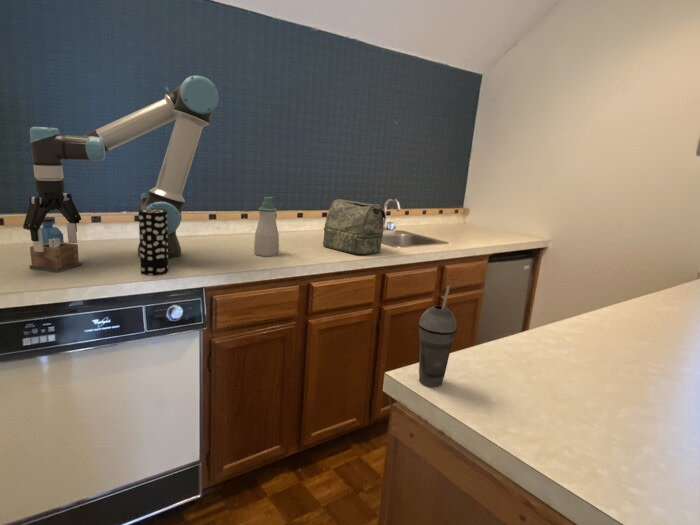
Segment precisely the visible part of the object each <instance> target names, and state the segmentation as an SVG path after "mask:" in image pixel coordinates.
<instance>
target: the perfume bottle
mask: <svg viewBox="0 0 700 525" xmlns="http://www.w3.org/2000/svg"><path fill="white" fill-rule="evenodd" d="M53 225H54V221H53V217H45V219H44V221H43V222H42V224H41V226H40V228H39V230H41V231H42V239H43V244H44V243H49V239H52V238H58V239H60V242H62V243H65V241H64V234H63V232H62V231H61V230H60V229H59V228H58V227H56V226H53Z"/></svg>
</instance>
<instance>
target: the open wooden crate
mask: <svg viewBox="0 0 700 525" xmlns="http://www.w3.org/2000/svg"><path fill="white" fill-rule="evenodd" d="M43 248H44V252H37V251H34V246H33V245H32V246H31V245H30V246H29V250H30V261H31V265H33V266H41V267H49V268H57V269H58V268H61V267H64V266H68V265H71V264H74V263H78V262H80V259H79V245H78V243H68V242H64V243H62V242H60V247H57V248H51V247H49V243H44V244H43Z"/></svg>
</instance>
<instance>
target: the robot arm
mask: <svg viewBox="0 0 700 525" xmlns="http://www.w3.org/2000/svg"><path fill="white" fill-rule="evenodd" d="M218 104H219V92H218V89H217V87H216V85H215V84H214V83H213V81H212V80H210V79H209V78H207V77H205V76H202V75H191V76H189V77H187V78H184V80H183V82H182V83H181V84H180V85H179V86H178V87H176V88H175V89H174V90H171V91H170V92H167V93H166V94H165V95H164V98H163V99H160V100H158V101H155V102H154V103H152V104H149V105H146V106H144V107H142V108H141V109H139V110H136V111H134V112H132V113H130V114H127V115H125V116H123V117H120V118H119V119H117V120H114V121H112V122H110V123H108V124H105V125H103V126H102V127H98V128H97V129H95V130H91V132H88V133H86V134H84V135H70V134H69V135H68V134H61V133H60V130H59V128H57V127H47V126H45V127H44V126H31V127H30V128H29V139H30V141H29V146H30V152H31V159H32V166H33V167H32V168H33V176H34V178H35V181H34V184H35V186H34V188H35V192H37V193H38V196H29V199H28V200H29V201H28V203H29V205H28V208H27V212H26V214H25V217H24V218H25V219H24V221H23V225H22V228H23V230H27V231H29V232H30V240H31V242H32V244H33V245H32V246H34V251H37V252H44V248H43V239H42V231H41V230H39V228H41V227H42V222H43V221H44V219H45V218H47V215H48V214H49V213H50V212H51V211H54V210H58V212H59V213H60V214H61V215H62V216H63V218H65V220H66V221H67V223H66V233H67V241H68V242H67V243H71V244H78V236H77V235H78V234H77V232H78V228H77V227H78V226H77V225H78V224H79V223H80V221H81V220H82V217H81V215H80V213H79V210H78V209H77V207H76V205H75V203H74V201H73V197H72V194H71V193H67V192H65V190H66V189H65V188H66V187H65V180H63V179H64V178H65V177H64V170H63V168H64V167H63V161H84V162H103V161H105V159H106V153H107V152H109V151H111V150H113V149H116V148H118V147H120V146H122V145H124V144H126V143H128V142H130V141H132V140H135V139H136V138H138V137H141V136H143V135H145V134H147V133H150V132H151V131H154V130H156V129H158V128H160V127H163V126H165V125H166V124H169V123H171V122H173V121H174V125H173V129H172V132H171V136H170V139H169V142H168V145H167V149H166V152H165V155H164V158H163V162H162V165H161V168H160V171H159V174H158V178H157V181H156V184H155V187H153V188H150V189H149V190H148V192H143V193H141V195H140V206H141V207H140V208H141V209H140V210H144V209H159V210H166V211H167V226H168V259H172V258H177V257H179V256H181V255H182V247H181V243H180V242H179V239H178V236H177V229H178V228H179V227H180V225H181V220H182V217H181V216H182V212H183V209H184V205H185V202H186V200H185V198H184V197H183V192H184V189H185V186H186V184H187V180H188V176H189V173H190V170H191V167H192V164H193V161H194V160H193V159H194V158H195V155H196V154H195V153H196V150H197V147H198V144H199V141H200V137H201V134H202V131H203V128H204V127H207V126H208V125H210V122H211V118H212V115H213V112H214V110H215V109H216V107H217V106H218ZM137 256H138V257H140V242H139V243H138V246H137Z"/></svg>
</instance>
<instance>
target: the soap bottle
mask: <svg viewBox="0 0 700 525" xmlns="http://www.w3.org/2000/svg"><path fill="white" fill-rule="evenodd" d="M273 199H275V196H264V197H263V201H262V202H261V206H260V207H258V208H257V209H258V211H259V212H258V214H259V215H258V222H257V225H256V230H255V233H254V241H253V245H254V246H253V247H254V248H253V249H254V250H253V252H254V254H255V255H256V256H260V257H274V256H277V255H278V254H279V252H280V251H279V250H280V243H279V241H280V238H279V234H280V233H279V230H278V225H277V217H276V216H277V211H278V209H277V208H276V207H275V206H274V205H275V204H274V202H272V201H273Z"/></svg>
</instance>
